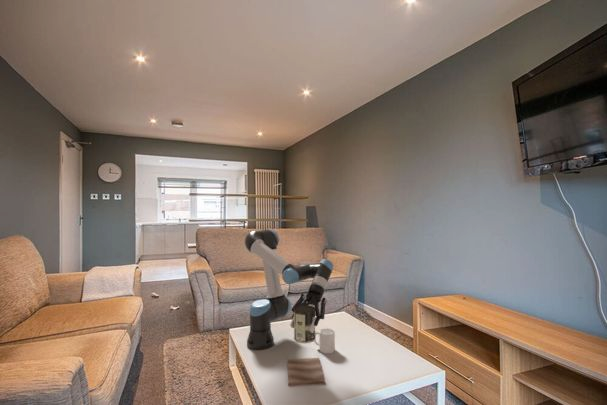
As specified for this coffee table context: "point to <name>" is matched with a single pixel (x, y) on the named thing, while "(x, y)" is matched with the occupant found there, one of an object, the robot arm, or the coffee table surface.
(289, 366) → the walnut board
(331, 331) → the cup
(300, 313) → the coffee can
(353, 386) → the coffee table surface
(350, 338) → the coffee table surface
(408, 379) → the coffee table surface
